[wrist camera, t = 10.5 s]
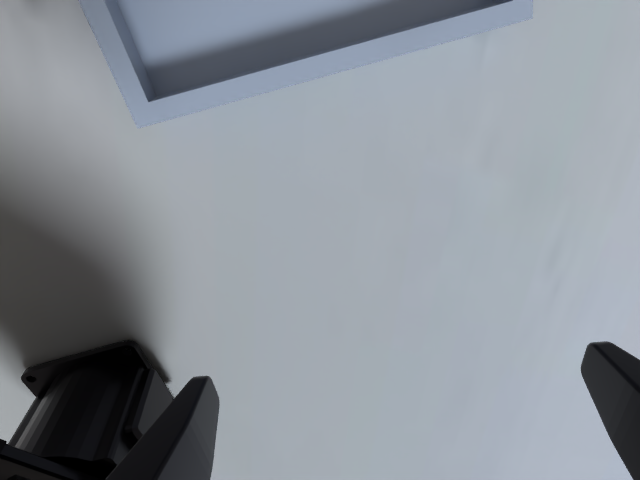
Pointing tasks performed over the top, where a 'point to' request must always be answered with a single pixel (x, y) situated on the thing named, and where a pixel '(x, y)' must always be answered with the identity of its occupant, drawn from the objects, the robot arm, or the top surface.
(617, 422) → the robot arm
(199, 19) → the tray
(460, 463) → the top surface
